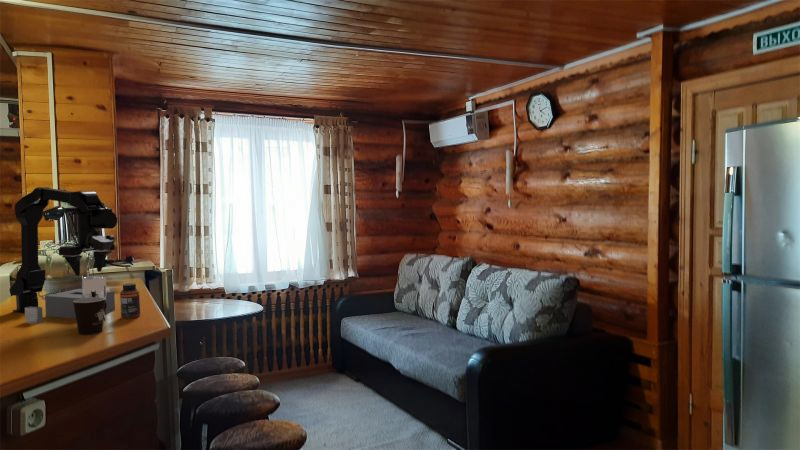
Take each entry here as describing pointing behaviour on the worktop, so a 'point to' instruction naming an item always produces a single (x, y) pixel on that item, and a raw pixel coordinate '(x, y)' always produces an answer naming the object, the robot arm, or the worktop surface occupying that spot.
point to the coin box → (71, 303)
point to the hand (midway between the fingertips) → (88, 273)
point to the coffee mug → (90, 314)
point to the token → (33, 315)
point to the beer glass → (94, 288)
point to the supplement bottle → (130, 301)
